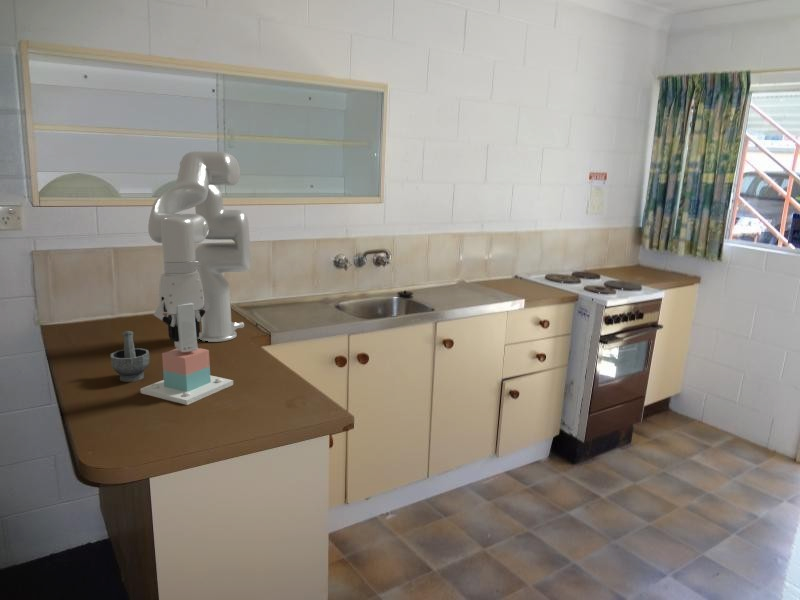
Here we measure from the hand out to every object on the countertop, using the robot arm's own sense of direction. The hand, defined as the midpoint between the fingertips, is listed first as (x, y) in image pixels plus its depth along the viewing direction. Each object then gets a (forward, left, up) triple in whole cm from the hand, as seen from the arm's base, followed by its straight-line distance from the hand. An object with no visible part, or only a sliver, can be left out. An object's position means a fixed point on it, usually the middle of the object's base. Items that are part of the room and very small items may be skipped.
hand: (184, 337), depth 155 cm
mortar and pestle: (+6, -19, -14) cm, 24 cm away
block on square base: (0, 0, -14) cm, 14 cm away
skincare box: (0, 0, -3) cm, 3 cm away
